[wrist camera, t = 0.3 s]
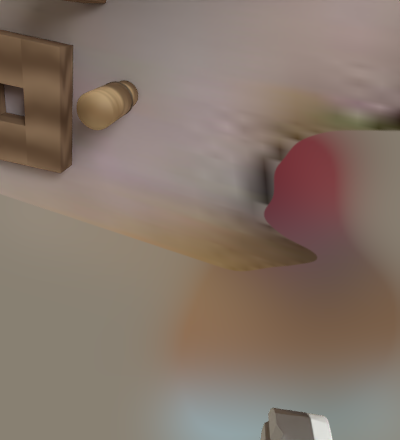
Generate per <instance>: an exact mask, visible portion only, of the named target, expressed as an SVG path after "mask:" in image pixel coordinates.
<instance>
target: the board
mask: <svg viewBox="0 0 400 440" xmlns="http://www.w3.org/2000/svg"><path fill="white" fill-rule="evenodd" d="M4 84H7V85H11V86H16V87H20V88H23V91H24V109H25V117H24V116H20V115H15V114H11V113H6V106H5V94H4ZM72 97H73V46H72V45H68V44H63V43H59V42H54V41H50V40H45V39H40V38H36V37H31V36H27V35H22V34H18V33H13V32H9V31H4V30H0V160H4V161H8V162H13V163H17V164H22V165H26V166H30V167H35V168H39V169H44V170H48V171H53V172H57V173H62V172H63V171H64V170H66V169H67V168H68V167H69V166H71V165H72Z"/></svg>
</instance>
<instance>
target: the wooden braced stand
mask: <svg viewBox="0 0 400 440" xmlns="http://www.w3.org/2000/svg"><path fill="white" fill-rule="evenodd" d="M64 1H72V2H79V3H106V0H64Z"/></svg>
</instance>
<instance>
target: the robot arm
mask: <svg viewBox="0 0 400 440" xmlns="http://www.w3.org/2000/svg"><path fill="white" fill-rule="evenodd" d="M268 415H269V421H268V422H266V423H265V424H264V426H263V429H262V433H261V440H333V439H332V435H331V430H330V426H329V422H328V420H327V418H326V417H325V416H321V415H315V414H308V413H305V412H298V411H292V410H284V409H278V408H272V409H270V412H269V414H268Z"/></svg>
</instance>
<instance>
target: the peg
mask: <svg viewBox="0 0 400 440" xmlns="http://www.w3.org/2000/svg"><path fill="white" fill-rule="evenodd" d="M137 100H138V92H137V89H136V87H135V86H134V85H133V84H132V83H130V82H128V81H120V82H110V83H108V84H106V85H104V86H101V87H99V88H97V89H94V90H92V91H89V92H87V93H85V94H83V95H82V96H81V97H80V98H79V100H78V102H77V114H78V117H79V118H80V120H81V122H82V123H83V124H84V125H85V126H87V127H88V128H90V129H93V130H102V129H105V128H106V127H108V126H109V125H111V124H112V123H113V122H115V121H116V120H118V119H119V118H120V117H122V116H123V115H125V114H127V113H128V112H129V111H130V110H131V108H132V106H134V105H135V104H136V102H137Z"/></svg>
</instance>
